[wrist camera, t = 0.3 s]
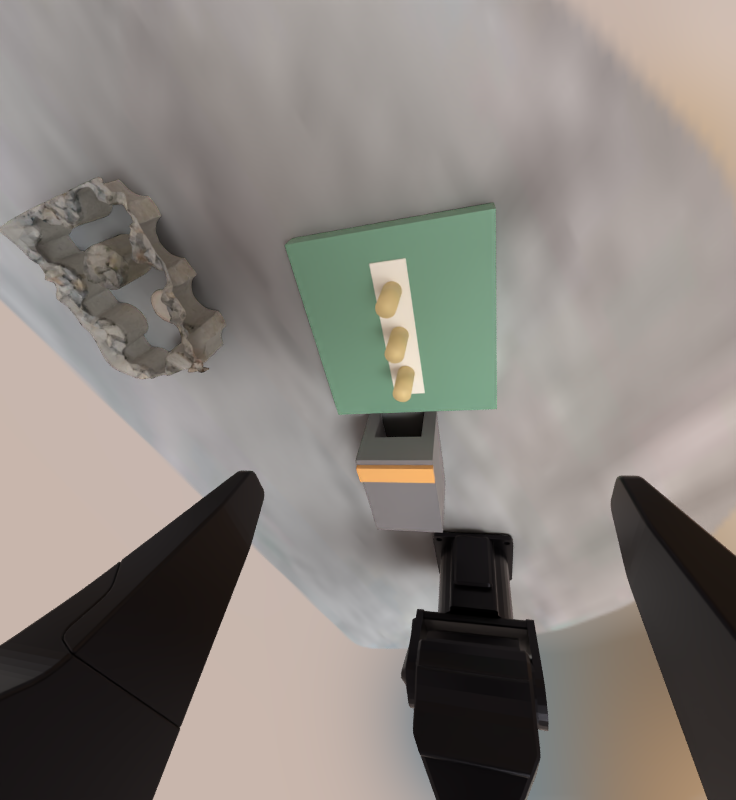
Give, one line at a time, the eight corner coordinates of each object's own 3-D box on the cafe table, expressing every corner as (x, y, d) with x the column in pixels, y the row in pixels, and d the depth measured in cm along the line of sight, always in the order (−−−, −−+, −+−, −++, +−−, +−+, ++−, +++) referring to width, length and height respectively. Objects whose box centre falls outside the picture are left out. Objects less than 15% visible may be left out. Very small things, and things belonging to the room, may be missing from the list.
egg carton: (243, 345, 25) (212, 380, 22) (157, 361, 28) (118, 395, 24) (146, 163, 19) (84, 176, 16) (47, 204, 22) (-23, 223, 19)
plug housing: (445, 481, 29) (442, 536, 25) (386, 480, 30) (376, 533, 27) (436, 410, 25) (432, 464, 21) (369, 413, 26) (354, 464, 23)
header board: (495, 396, 23) (499, 434, 21) (342, 403, 26) (329, 437, 24) (493, 202, 17) (499, 221, 14) (292, 238, 20) (267, 259, 17)
